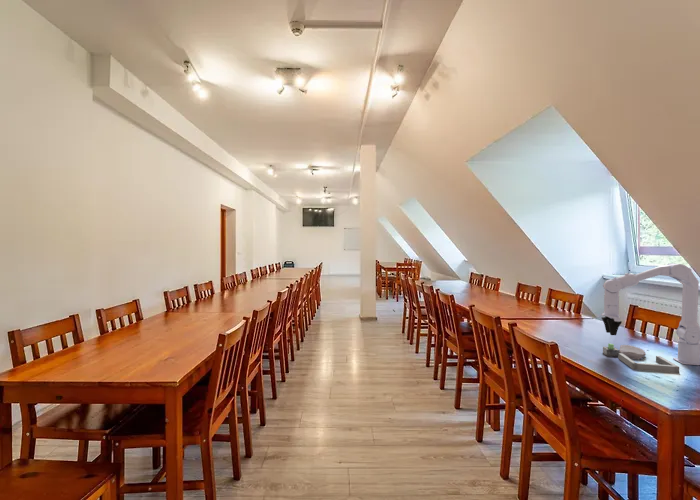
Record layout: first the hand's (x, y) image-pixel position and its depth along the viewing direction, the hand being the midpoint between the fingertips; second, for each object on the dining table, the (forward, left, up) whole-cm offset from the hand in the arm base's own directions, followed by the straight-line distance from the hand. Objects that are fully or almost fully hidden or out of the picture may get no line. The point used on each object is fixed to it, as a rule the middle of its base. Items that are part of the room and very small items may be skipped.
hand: (611, 333), depth 179 cm
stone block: (-9, 0, -10) cm, 14 cm away
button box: (0, 0, -10) cm, 10 cm away
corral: (-9, +14, -10) cm, 19 cm away
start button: (0, 0, -10) cm, 10 cm away
